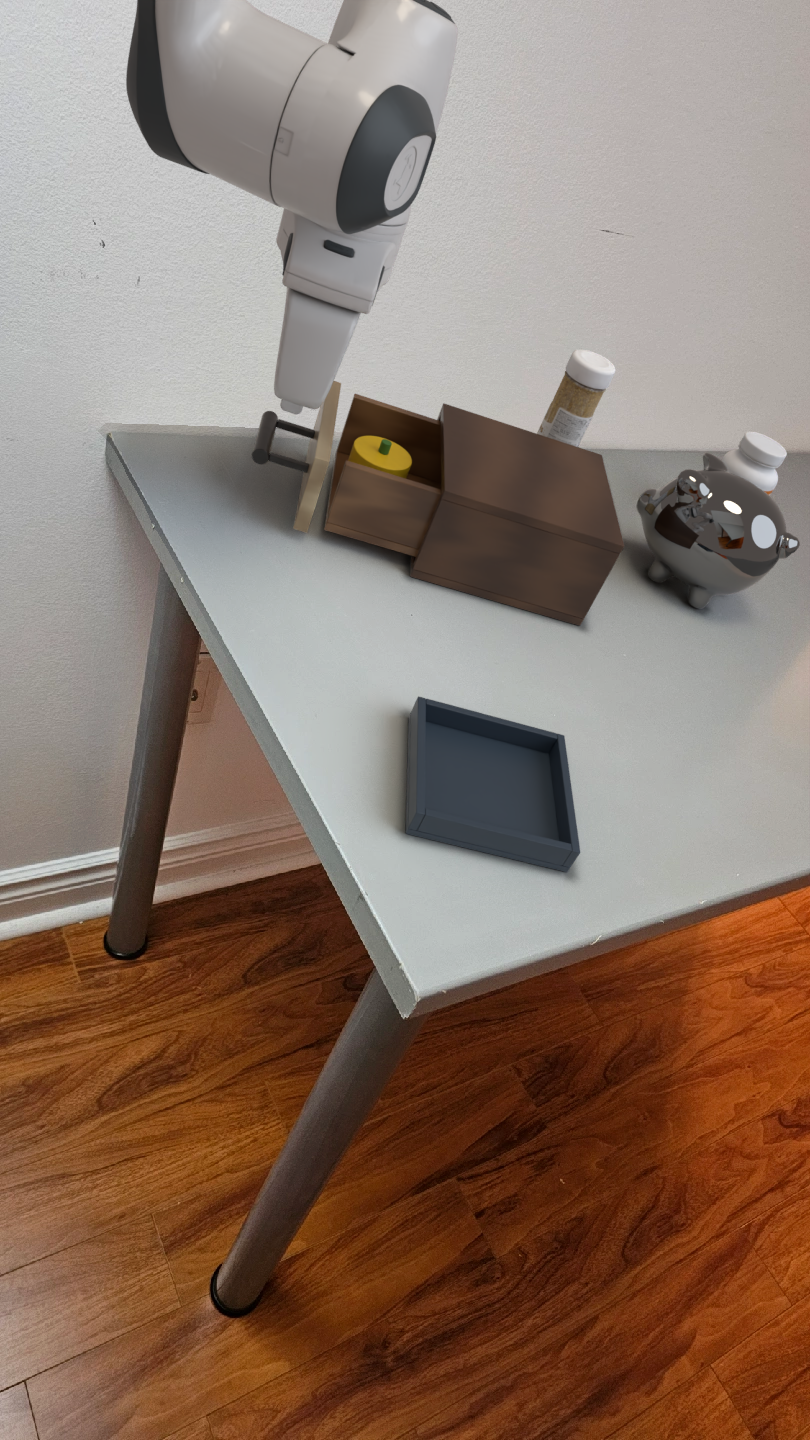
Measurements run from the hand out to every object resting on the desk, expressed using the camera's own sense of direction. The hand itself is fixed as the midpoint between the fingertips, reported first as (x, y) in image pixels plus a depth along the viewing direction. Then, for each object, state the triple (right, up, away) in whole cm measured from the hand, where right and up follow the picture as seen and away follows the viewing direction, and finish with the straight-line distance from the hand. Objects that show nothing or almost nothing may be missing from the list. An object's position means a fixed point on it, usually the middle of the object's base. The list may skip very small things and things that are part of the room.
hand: (291, 404), depth 87 cm
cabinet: (+17, -11, +9) cm, 22 cm away
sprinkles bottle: (+23, -1, +23) cm, 33 cm away
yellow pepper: (+6, -6, +5) cm, 10 cm away
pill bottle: (+42, -6, +27) cm, 50 cm away
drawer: (+5, -7, +6) cm, 10 cm away
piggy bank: (+36, -12, +17) cm, 42 cm away
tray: (+15, -31, -15) cm, 37 cm away
